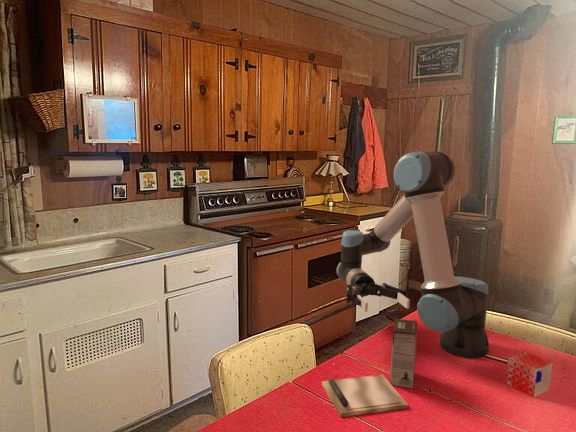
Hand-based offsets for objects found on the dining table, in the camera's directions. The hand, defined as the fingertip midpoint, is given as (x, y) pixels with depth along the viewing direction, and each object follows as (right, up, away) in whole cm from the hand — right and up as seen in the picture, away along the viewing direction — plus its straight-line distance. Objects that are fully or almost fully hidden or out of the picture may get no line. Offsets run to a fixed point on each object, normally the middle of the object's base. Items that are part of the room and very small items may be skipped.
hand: (387, 305), depth 136 cm
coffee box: (+2, -19, -7) cm, 21 cm away
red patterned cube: (+36, -21, -10) cm, 43 cm away
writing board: (-10, -20, -16) cm, 28 cm away
